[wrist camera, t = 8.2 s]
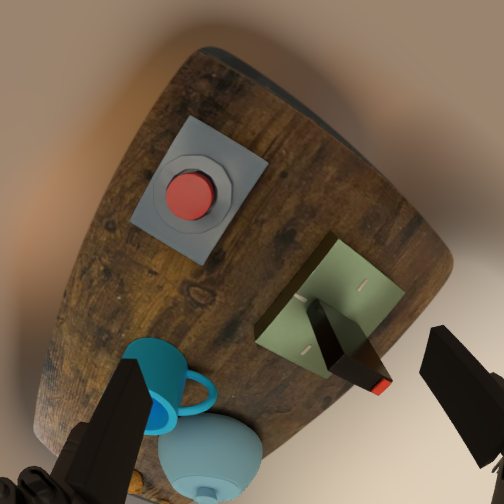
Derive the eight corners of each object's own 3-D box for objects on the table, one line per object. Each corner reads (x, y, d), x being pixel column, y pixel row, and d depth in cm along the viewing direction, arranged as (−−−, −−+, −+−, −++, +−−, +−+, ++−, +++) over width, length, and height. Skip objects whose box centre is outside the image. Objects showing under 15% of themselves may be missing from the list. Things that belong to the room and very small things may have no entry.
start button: (185, 164, 23) (180, 165, 22) (222, 187, 24) (220, 189, 23) (163, 201, 24) (157, 204, 23) (199, 223, 25) (196, 228, 23)
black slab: (305, 311, 29) (328, 373, 20) (317, 297, 28) (345, 356, 19) (348, 337, 30) (378, 397, 21) (359, 325, 29) (394, 382, 20)
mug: (128, 382, 35) (109, 426, 27) (121, 332, 32) (95, 375, 25) (218, 395, 36) (214, 444, 28) (221, 346, 33) (217, 396, 25)
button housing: (194, 117, 26) (185, 112, 22) (267, 162, 27) (271, 163, 23) (136, 216, 28) (121, 226, 24) (205, 258, 30) (199, 273, 26)
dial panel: (329, 229, 29) (338, 238, 26) (394, 281, 31) (407, 293, 28) (252, 326, 32) (253, 342, 29) (321, 363, 34) (327, 380, 31)
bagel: (116, 483, 45) (111, 499, 40) (87, 455, 42) (80, 473, 37) (155, 486, 44) (151, 504, 40) (127, 458, 41) (121, 478, 37)
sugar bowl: (173, 460, 41) (163, 515, 30) (150, 403, 36) (130, 469, 25) (262, 461, 41) (266, 518, 30) (260, 404, 36) (265, 476, 25)
